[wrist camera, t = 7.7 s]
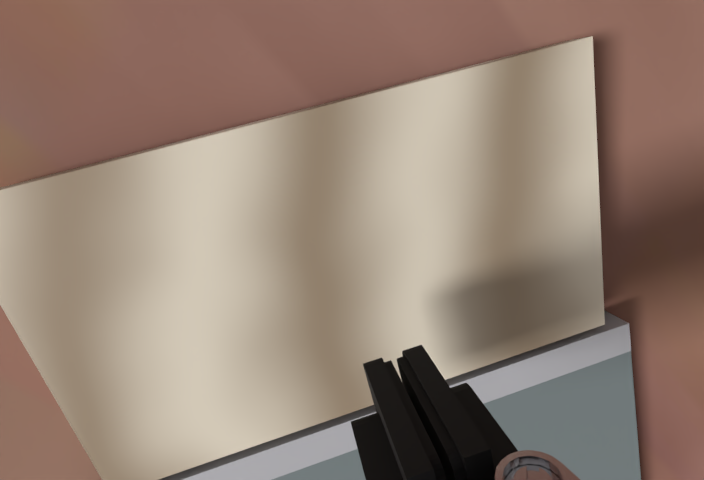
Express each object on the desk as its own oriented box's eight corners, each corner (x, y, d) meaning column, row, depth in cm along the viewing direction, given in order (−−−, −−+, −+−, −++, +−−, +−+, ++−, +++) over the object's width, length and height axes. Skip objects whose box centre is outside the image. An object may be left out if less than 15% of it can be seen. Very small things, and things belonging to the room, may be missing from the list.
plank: (566, 41, 14) (592, 36, 13) (582, 310, 18) (604, 324, 16) (-29, 195, 12) (-58, 205, 11) (121, 466, 15) (111, 495, 14)
